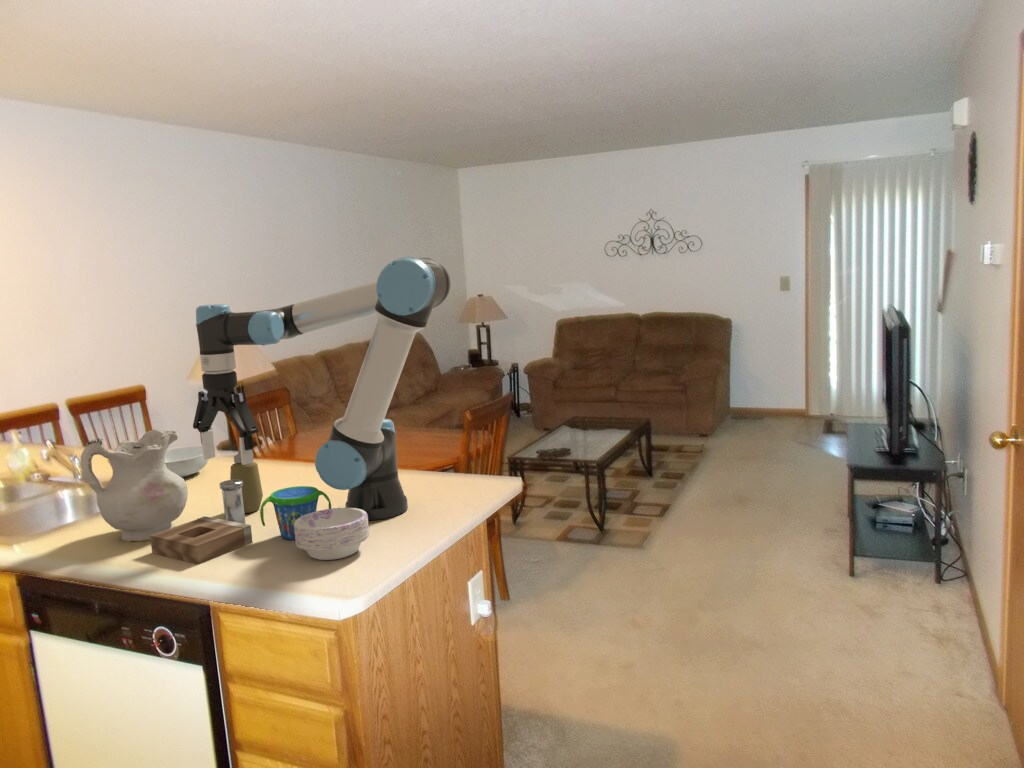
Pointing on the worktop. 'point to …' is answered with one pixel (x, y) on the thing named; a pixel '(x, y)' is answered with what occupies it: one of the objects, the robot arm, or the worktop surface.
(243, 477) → the squeeze bottle
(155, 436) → the ceramic pitcher
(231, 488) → the metal capped cylinder
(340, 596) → the worktop surface
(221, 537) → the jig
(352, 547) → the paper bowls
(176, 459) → the serving bowl
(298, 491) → the snack cup
